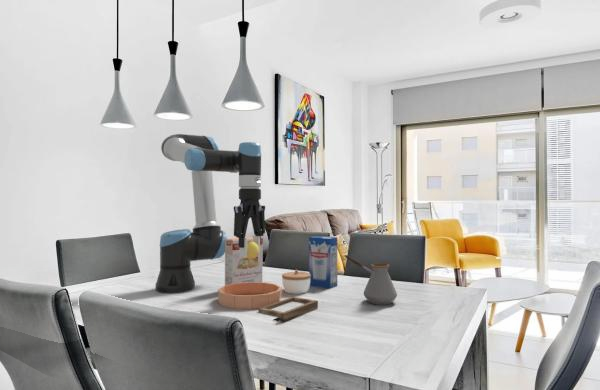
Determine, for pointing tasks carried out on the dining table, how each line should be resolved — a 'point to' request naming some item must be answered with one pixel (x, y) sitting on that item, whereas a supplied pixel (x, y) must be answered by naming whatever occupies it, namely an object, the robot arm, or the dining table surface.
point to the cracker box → (241, 264)
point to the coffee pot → (378, 284)
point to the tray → (293, 312)
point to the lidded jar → (296, 282)
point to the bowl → (249, 295)
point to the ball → (252, 249)
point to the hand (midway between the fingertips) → (250, 255)
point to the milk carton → (323, 261)
